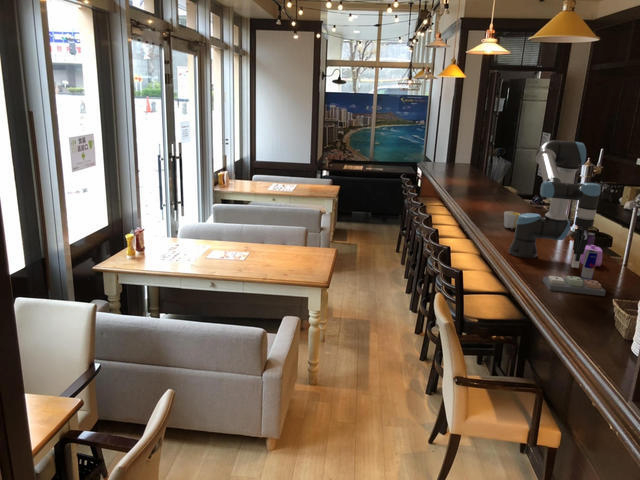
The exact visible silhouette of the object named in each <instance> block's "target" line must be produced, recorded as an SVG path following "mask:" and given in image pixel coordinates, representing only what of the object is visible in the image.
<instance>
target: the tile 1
mask: <svg viewBox="0 0 640 480" xmlns="http://www.w3.org/2000/svg"><path fill="white" fill-rule="evenodd" d="M547 277H548V281H549V282H550V283H553V284H562V285H564V282H565V281H564V280H563V279H564V278H563V277H562V276H553V275H548V276H547Z"/></svg>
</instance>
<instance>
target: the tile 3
mask: <svg viewBox="0 0 640 480" xmlns="http://www.w3.org/2000/svg"><path fill="white" fill-rule="evenodd" d="M583 281H584V283H583V284H584V285H585V286H586V287H590V288H599V289H600V288H601V287H602V284H601V283H599V281H598V280H593V279H592V280H583Z"/></svg>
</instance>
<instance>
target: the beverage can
mask: <svg viewBox="0 0 640 480" xmlns="http://www.w3.org/2000/svg"><path fill="white" fill-rule="evenodd" d="M595 235H596V233H593V232H590V231H588V235H587V236H589V239H588V241H587V244H586V245H588V246H590V245H594V244H595V240H596V236H595Z"/></svg>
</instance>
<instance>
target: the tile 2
mask: <svg viewBox="0 0 640 480" xmlns="http://www.w3.org/2000/svg"><path fill="white" fill-rule="evenodd" d="M565 279H566V283H567V284H568V285H571V286H580V287H582V285H583V281H584V280H582V278H581V276H573V275H567V276H566V278H565Z"/></svg>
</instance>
